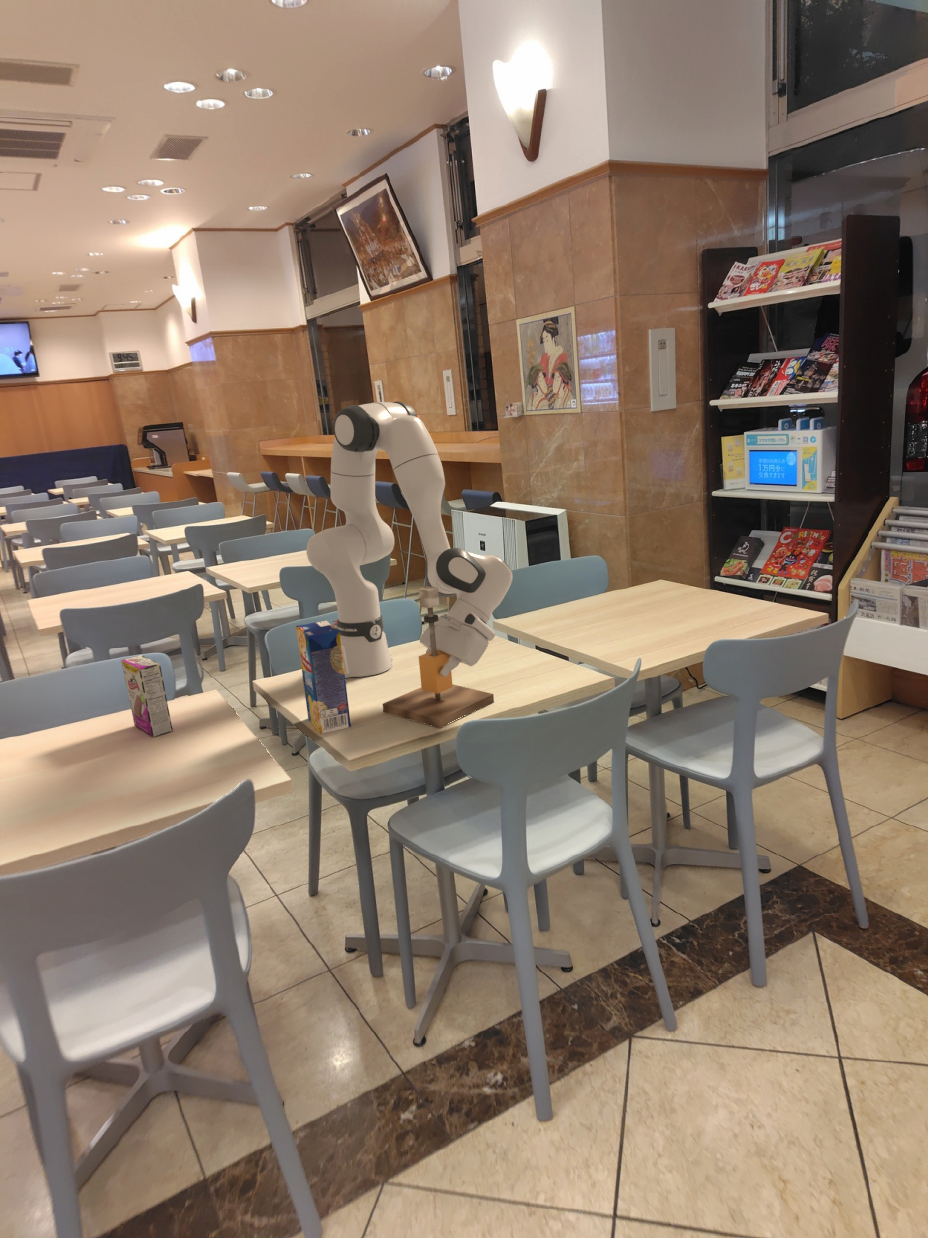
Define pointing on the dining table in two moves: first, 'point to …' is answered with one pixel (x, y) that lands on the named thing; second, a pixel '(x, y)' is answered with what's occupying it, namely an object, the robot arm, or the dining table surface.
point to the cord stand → (434, 705)
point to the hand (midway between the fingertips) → (433, 671)
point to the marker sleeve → (434, 672)
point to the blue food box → (323, 676)
